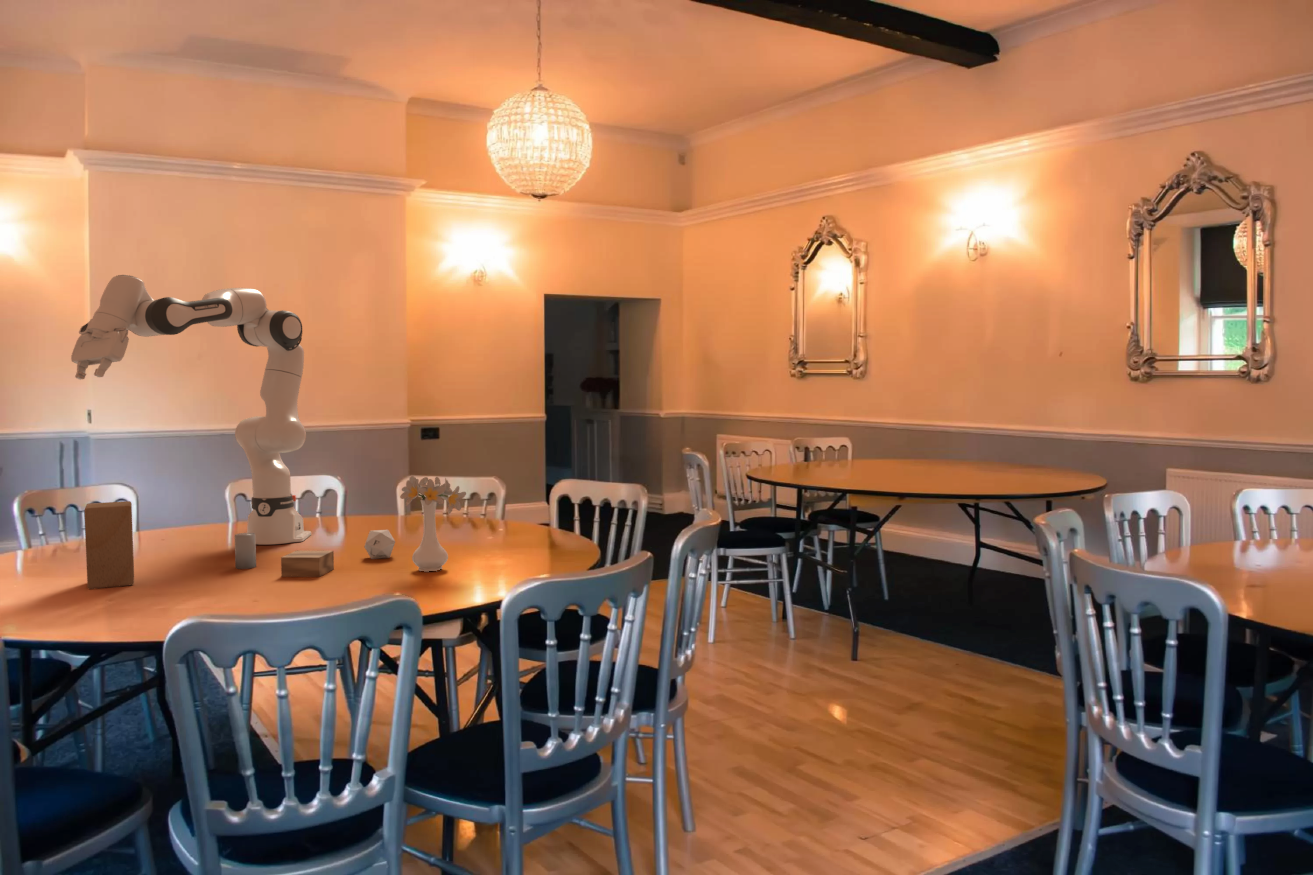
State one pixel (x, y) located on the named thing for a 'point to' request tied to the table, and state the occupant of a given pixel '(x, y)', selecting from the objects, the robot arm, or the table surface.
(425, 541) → the flower vase
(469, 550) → the table surface
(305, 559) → the oak block
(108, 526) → the wooden block
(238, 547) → the grey square pillar
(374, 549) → the die
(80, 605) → the table surface
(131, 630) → the table surface
